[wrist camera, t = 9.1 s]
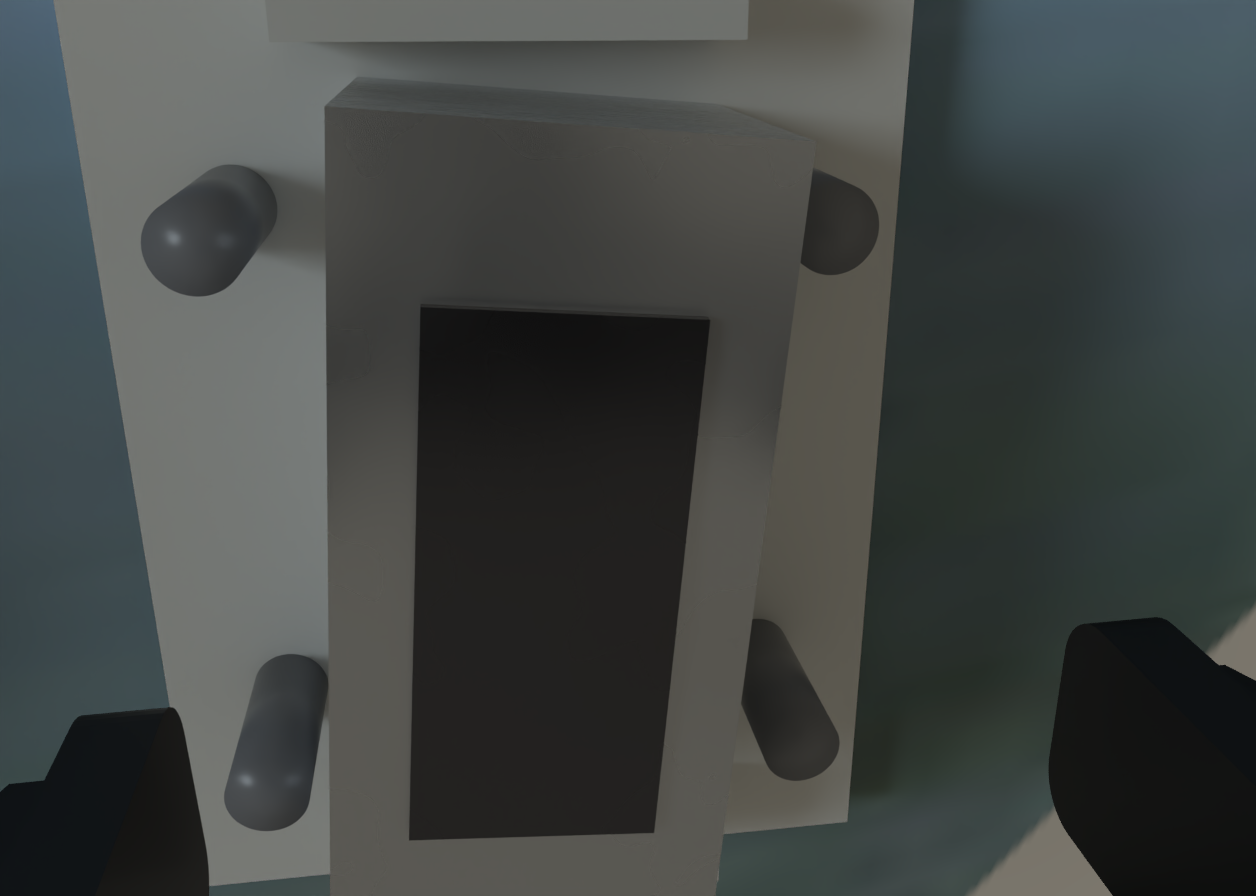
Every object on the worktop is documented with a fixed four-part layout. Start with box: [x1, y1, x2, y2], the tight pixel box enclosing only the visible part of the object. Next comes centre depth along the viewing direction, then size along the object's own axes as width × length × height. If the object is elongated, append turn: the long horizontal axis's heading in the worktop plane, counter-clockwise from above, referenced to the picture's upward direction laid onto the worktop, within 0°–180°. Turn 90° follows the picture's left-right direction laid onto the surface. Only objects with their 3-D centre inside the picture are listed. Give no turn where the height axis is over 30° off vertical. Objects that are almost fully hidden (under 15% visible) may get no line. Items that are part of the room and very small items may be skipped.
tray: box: [54, 0, 914, 886], centre depth 18 cm, size 16×12×4 cm
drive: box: [324, 76, 817, 896], centre depth 16 cm, size 11×5×5 cm, turn 175°
